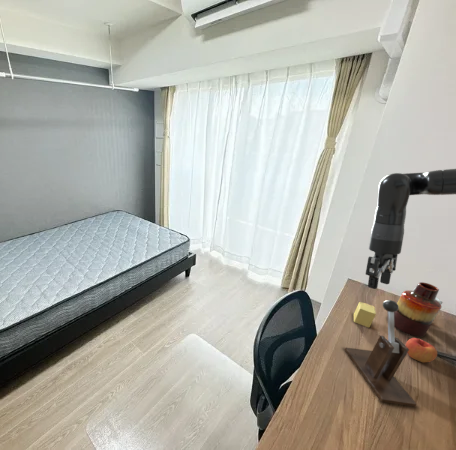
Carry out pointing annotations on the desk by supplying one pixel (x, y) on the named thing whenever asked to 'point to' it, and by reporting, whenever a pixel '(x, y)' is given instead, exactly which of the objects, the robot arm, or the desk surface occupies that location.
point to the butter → (364, 314)
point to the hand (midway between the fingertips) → (378, 285)
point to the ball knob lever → (391, 323)
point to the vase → (417, 310)
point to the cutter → (382, 370)
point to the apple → (421, 350)
